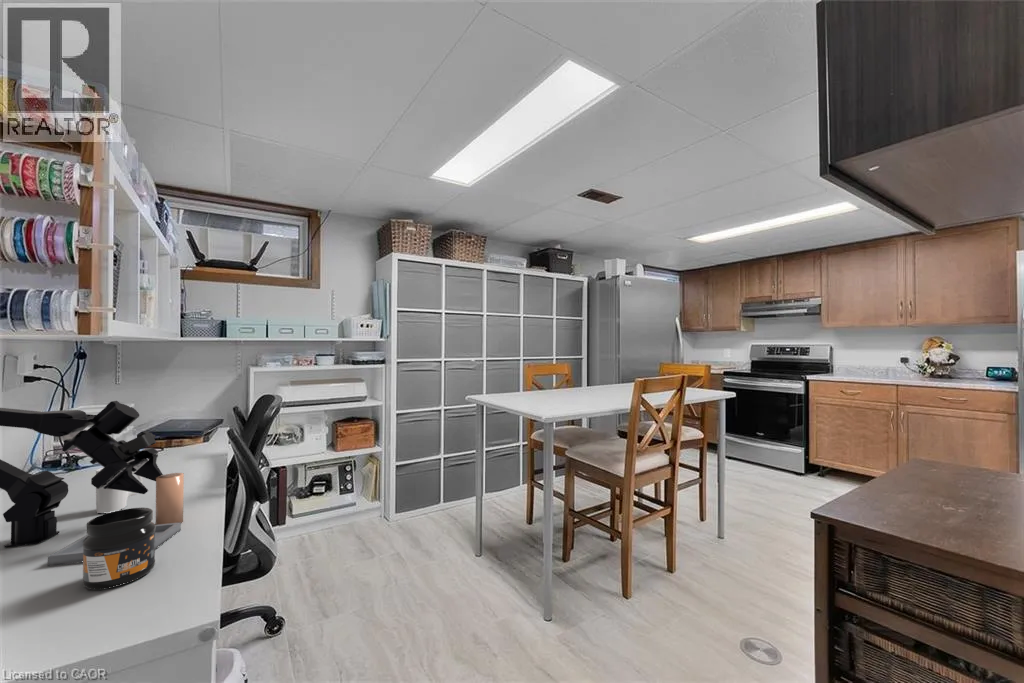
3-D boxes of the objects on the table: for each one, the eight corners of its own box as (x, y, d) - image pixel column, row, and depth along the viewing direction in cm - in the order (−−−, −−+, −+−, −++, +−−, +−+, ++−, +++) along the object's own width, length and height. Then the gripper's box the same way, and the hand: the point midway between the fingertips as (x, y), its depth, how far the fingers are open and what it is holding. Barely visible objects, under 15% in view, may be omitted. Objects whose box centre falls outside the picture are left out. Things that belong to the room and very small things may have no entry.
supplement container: (83, 599, 74) (85, 532, 74) (79, 579, 81) (80, 517, 81) (159, 575, 82) (160, 514, 82) (150, 558, 89) (150, 502, 89)
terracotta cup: (150, 529, 104) (150, 479, 104) (163, 521, 109) (163, 473, 110) (176, 527, 105) (176, 477, 106) (187, 518, 111) (188, 471, 111)
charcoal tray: (47, 566, 86) (47, 556, 86) (93, 539, 99) (93, 531, 99) (149, 554, 91) (149, 545, 91) (180, 530, 103) (180, 522, 103)
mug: (97, 516, 114) (98, 472, 114) (92, 511, 117) (93, 468, 118) (145, 505, 122) (146, 464, 122) (138, 500, 126) (139, 461, 126)
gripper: (108, 429, 97) (164, 471, 100) (149, 418, 114) (196, 454, 118) (64, 467, 94) (124, 509, 97) (114, 449, 112) (163, 485, 115)
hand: (155, 486), depth 107 cm, fingers open, 9 cm apart
